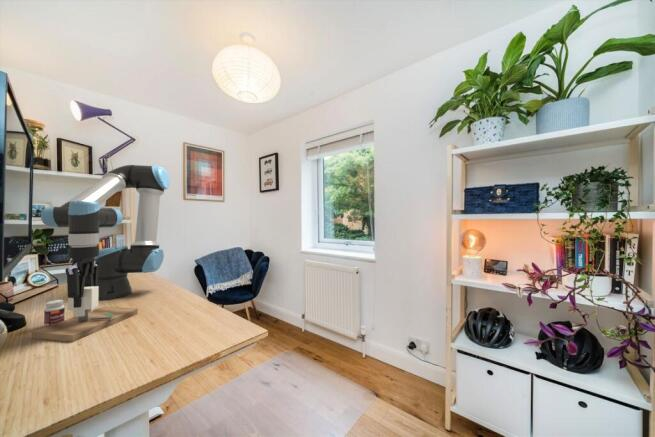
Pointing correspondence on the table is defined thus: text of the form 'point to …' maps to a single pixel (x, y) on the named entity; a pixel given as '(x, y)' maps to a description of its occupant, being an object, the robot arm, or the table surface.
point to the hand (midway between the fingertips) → (83, 313)
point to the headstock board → (83, 324)
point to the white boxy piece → (88, 302)
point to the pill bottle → (54, 312)
